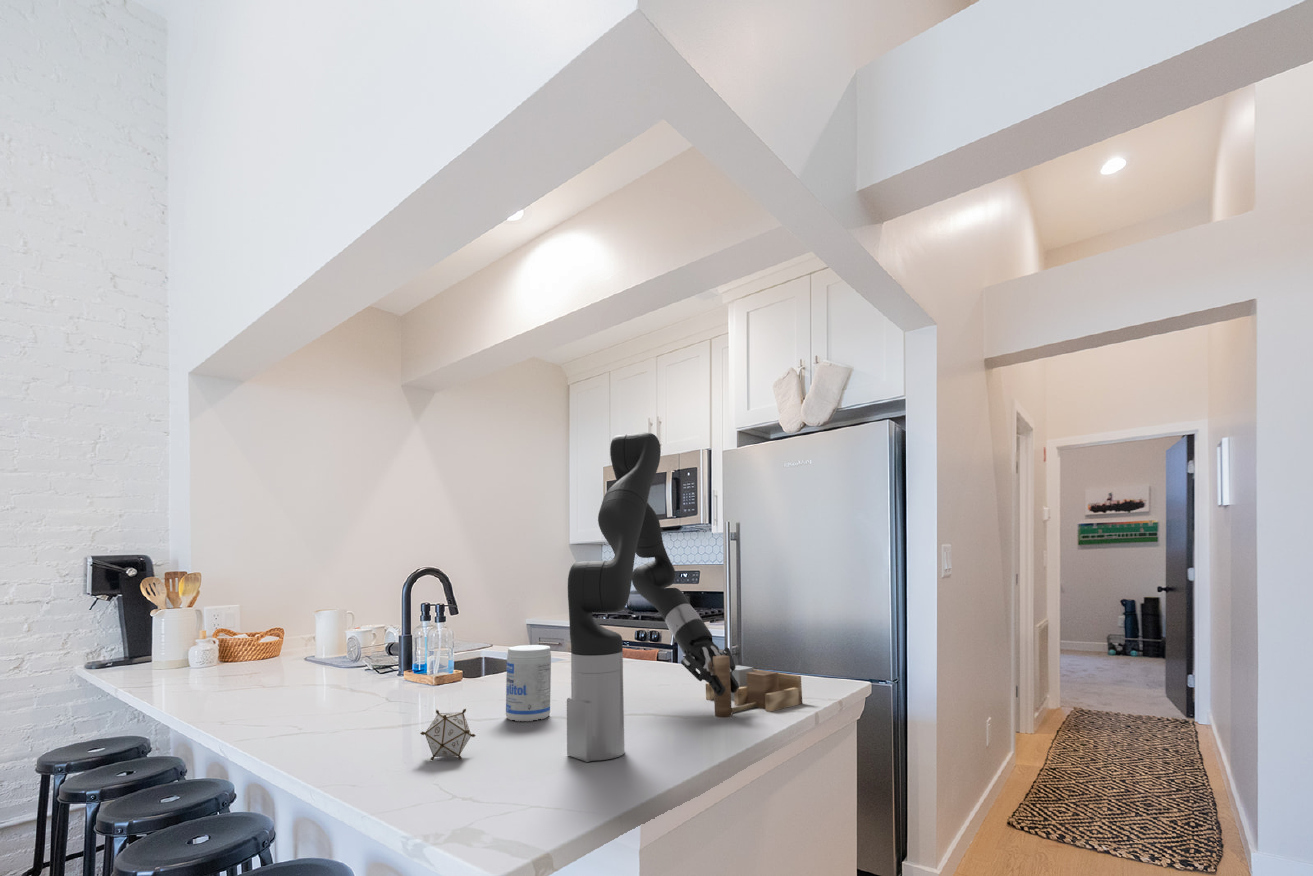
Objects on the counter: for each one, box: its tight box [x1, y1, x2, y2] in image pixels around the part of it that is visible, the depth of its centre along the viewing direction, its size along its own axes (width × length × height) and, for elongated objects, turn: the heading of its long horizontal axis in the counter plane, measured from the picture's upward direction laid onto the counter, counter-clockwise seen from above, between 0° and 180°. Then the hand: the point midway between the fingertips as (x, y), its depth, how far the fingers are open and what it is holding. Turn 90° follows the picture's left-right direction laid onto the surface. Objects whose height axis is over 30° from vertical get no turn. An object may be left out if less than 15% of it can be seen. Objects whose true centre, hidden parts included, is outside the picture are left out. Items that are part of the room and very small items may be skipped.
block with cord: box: [713, 655, 779, 718], centre depth 155 cm, size 17×5×12 cm, turn 130°
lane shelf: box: [705, 668, 803, 712], centre depth 163 cm, size 11×20×6 cm, turn 40°
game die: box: [419, 708, 477, 761], centre depth 124 cm, size 9×8×10 cm
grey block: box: [731, 664, 754, 701], centre depth 167 cm, size 5×5×7 cm
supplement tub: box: [505, 644, 552, 722], centre depth 154 cm, size 10×10×15 cm
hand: (729, 691), depth 149 cm, fingers closed on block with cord, 3 cm apart
